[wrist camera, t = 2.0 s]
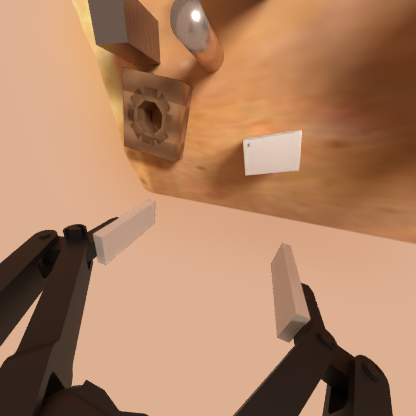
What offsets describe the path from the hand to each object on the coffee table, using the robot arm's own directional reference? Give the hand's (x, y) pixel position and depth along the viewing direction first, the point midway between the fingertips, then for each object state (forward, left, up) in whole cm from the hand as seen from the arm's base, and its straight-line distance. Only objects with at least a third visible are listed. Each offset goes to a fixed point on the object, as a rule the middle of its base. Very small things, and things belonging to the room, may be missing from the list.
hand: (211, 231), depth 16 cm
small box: (-7, +4, -24) cm, 25 cm away
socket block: (-7, -20, -23) cm, 32 cm away
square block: (-19, -25, -24) cm, 39 cm away
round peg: (-19, -11, -24) cm, 32 cm away
